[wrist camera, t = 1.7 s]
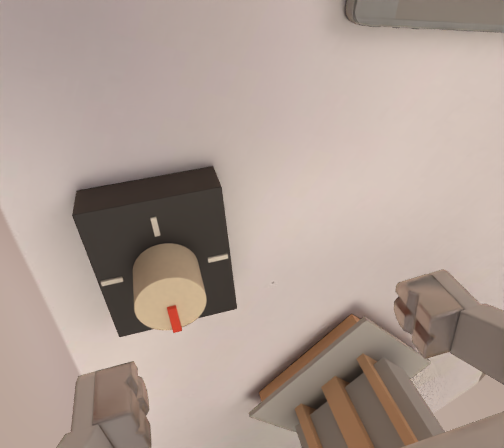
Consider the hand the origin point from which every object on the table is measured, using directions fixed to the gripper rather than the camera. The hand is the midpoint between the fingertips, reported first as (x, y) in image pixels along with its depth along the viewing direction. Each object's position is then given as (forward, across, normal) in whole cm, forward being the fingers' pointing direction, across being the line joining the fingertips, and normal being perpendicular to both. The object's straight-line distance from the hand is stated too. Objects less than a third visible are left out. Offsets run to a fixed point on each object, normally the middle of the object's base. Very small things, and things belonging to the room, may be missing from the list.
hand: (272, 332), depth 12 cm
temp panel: (+17, +4, +8) cm, 20 cm away
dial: (+14, +4, +8) cm, 17 cm away
